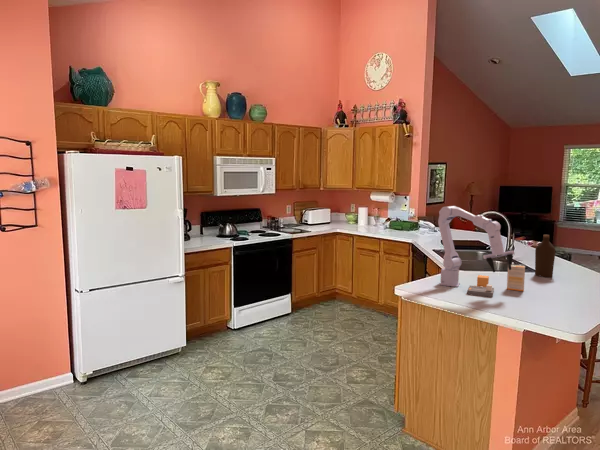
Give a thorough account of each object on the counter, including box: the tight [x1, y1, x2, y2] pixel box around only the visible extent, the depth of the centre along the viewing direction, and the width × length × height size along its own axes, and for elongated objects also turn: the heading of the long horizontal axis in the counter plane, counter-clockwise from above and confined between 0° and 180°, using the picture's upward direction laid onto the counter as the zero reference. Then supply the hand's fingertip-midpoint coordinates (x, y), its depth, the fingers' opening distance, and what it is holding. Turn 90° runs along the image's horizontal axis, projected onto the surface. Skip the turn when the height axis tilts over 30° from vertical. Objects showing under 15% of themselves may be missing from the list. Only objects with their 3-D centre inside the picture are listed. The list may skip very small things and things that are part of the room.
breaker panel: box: [466, 285, 495, 298], centre depth 226 cm, size 12×11×3 cm
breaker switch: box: [486, 284, 493, 291], centre depth 222 cm, size 2×2×3 cm
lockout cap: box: [476, 274, 490, 287], centre depth 236 cm, size 5×5×6 cm
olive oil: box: [534, 234, 556, 278], centre depth 262 cm, size 11×11×25 cm
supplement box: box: [506, 264, 526, 292], centre depth 231 cm, size 8×5×13 cm, turn 59°
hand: (502, 270), depth 220 cm, fingers open, 7 cm apart
